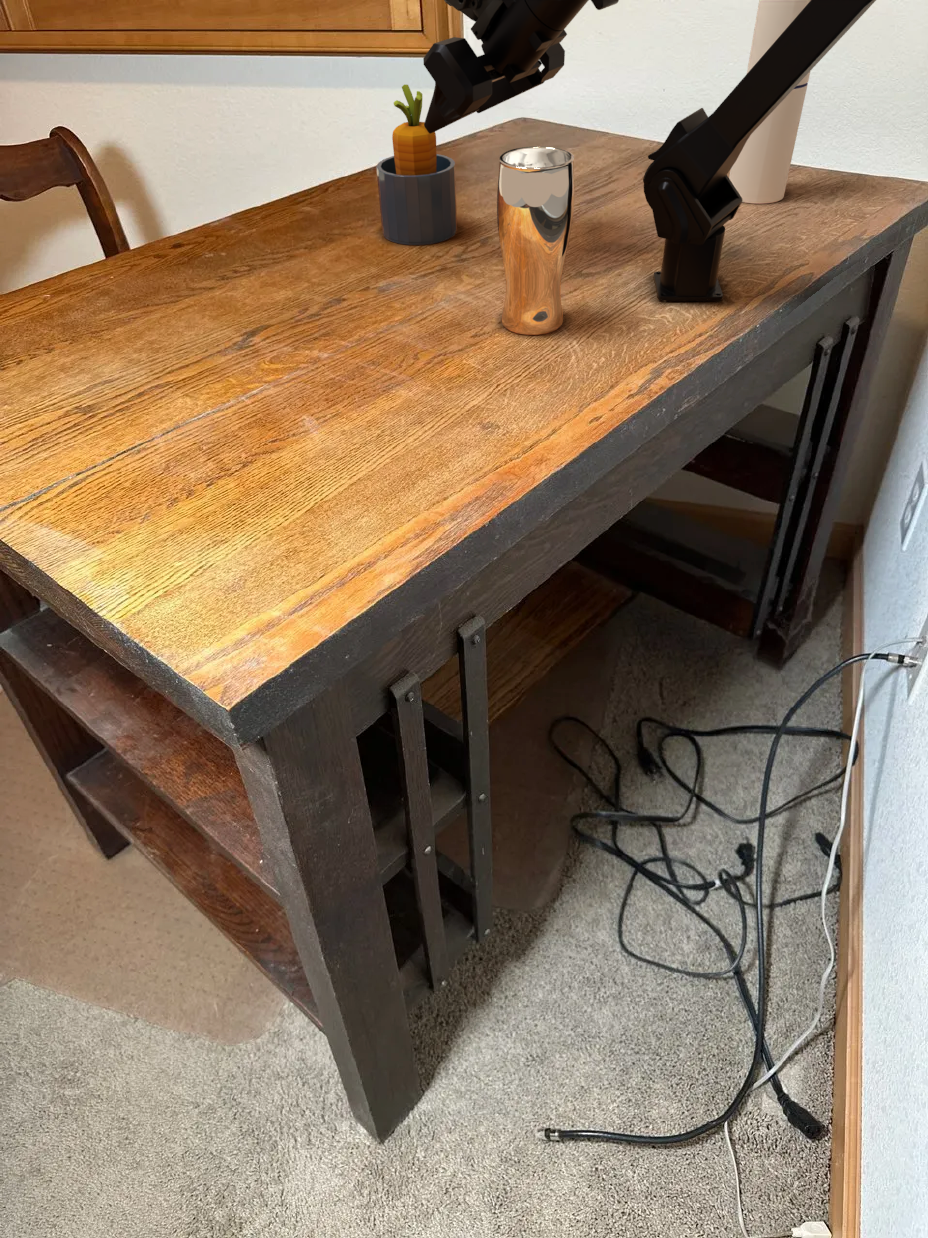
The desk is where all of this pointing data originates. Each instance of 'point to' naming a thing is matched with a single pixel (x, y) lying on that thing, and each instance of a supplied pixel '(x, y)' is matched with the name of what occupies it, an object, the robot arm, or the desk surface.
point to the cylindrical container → (770, 116)
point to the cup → (418, 203)
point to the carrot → (413, 139)
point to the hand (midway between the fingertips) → (452, 118)
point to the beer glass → (534, 234)
